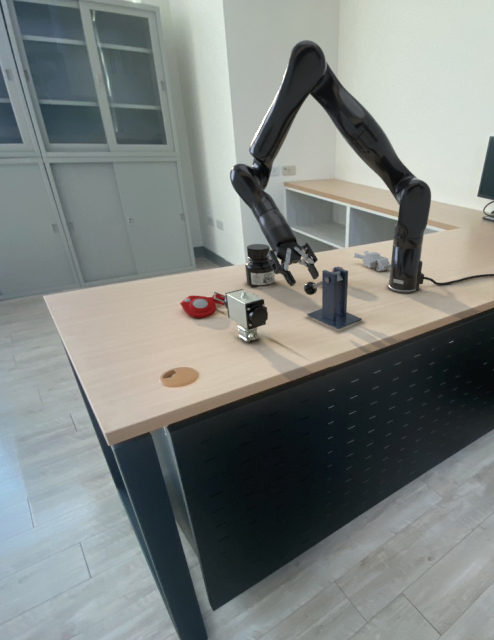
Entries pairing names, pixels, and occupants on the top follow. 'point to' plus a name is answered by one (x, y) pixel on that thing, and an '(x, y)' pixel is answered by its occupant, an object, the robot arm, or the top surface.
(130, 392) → the top surface
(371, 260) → the bunny figurine
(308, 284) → the clamp handle
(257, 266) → the ink bottle
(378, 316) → the top surface
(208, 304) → the tracker holder
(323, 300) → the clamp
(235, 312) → the pneumatic valve
